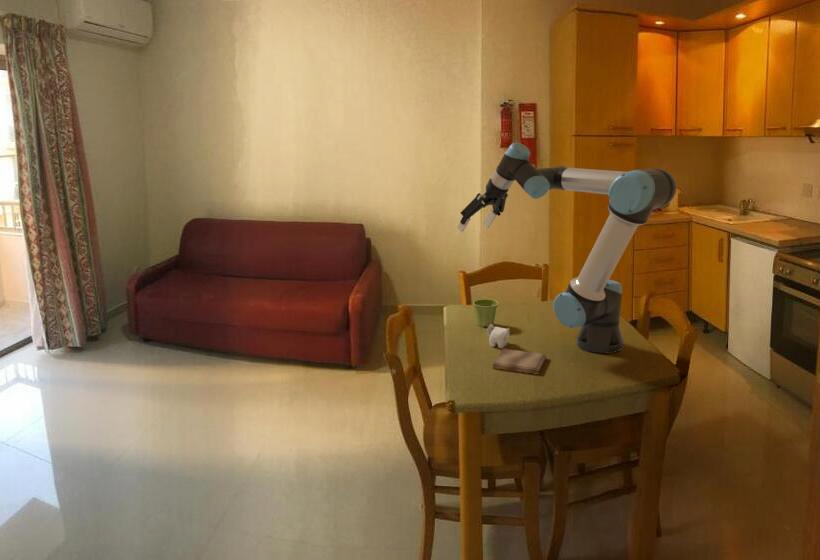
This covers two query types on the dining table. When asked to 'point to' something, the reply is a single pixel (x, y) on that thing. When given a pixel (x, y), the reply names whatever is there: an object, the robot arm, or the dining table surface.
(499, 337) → the elephant figurine
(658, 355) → the dining table surface
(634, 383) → the dining table surface
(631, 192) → the robot arm
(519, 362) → the folded cloth
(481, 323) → the plant pot
